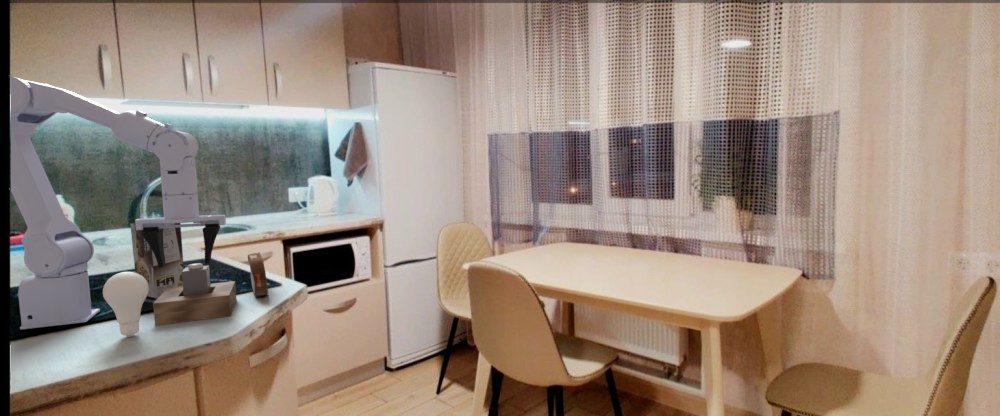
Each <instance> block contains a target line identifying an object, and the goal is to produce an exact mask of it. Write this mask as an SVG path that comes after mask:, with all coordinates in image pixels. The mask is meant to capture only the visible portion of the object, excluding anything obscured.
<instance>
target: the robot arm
mask: <svg viewBox="0 0 1000 416" xmlns="http://www.w3.org/2000/svg"><path fill="white" fill-rule="evenodd" d="M10 76H11V190H10V192H11V195H12V197H13V199H14V201H15V203H16V205H17V208H18V209H19V212H20V214H21V215H22V218H23V220H24V222H25V224H26V227H27V229H26V230H25V233H24V234H23V236H22V238H21V244H22V246H23V247H24V248H23V249H24V253H23V255H24V256H23V262H24V264H25V267H26V268H27V270H29V271H30V272H31V273H33V274H34V275H29V276H25V277H23V278H22V279H21V280H20V282H19V286H18V305H19V313H20V320H21V326H20V327H19V329H20V330H29V329H38V328H45V327H47V328H48V327H54V326H63V325H73V324H81V323H82V324H83V323H86V322H88V321H90V320H91V319H93V317H95V316H96V315H97V314H99V312H100V311H101V309H100V308H92V300H91V291H90V282H89V272H88V268H89V267H88V262H90V261H91V259H92V258H93V256H94V253H95V250H94V245H93V244H94V243H92V241H91V240H90V239H89V238H88V237H87V236H85V235H84V234H83V233H82V230H81V229H80V227H79V225H78V224H76V223H74V221H71V220H70V219H68V218H67V217H66V215H65V213H64V211H63V208H62V206H61V204H60V201H59V200H58V197H57V195H56V193H55V191H54V189H53V186H52V183H51V182H50V179H49V178H48V176H47V174H46V171H45V168H44V166H43V164H42V162H41V160H40V157H39V155H38V153H37V151H36V149H35V147H34V144H33V142H32V140H31V136H32V134H33V133H34V132H35V131H36V129H37V128H38V127H39V126H41V125H43V124H44V123H45V122H47V121H48V120H49V119H51V118H52V117H53V116H55V115H56V114H67V113H69V114H71V115H73V116H77V117H79V118H81V119H83V120H84V119H85V120H88V121H90V122H92V123H95V124H97V125H100V126H104V127H106V128H108V129H110V130H111V132H112V134H113V136H114V137H115V138H116V139H118V140H119V141H122V142H124V143H127V144H130V145H133V146H135V147H137V148H140V149H142V150H145V151H146V152H149V153H153V154H154V155H155V156H156V157H157V158H158V159H159V166H160V182H161V195H162V196H161V197H162V208H163V216H162V217H150V218H149V217H146V218H137V219H135V220H134V223H135V224H136V230H143V233H142V235H143V237H144V238H145V240H146V241H147V243H148V244H149V246H150V247H151V249H152V251H153V253H154V255H155V257H156V260H157V263H158V267H164V266H165V255H164V248H163V228H176V227H181V228H192V227H202V234H203V244H204V263H205V264H211V262H212V252H213V248H214V245H215V241H216V238H217V237H218V234H219V231H220V229H221V226H222V227H223V226H225V225H226V224H227V221H226V214H209V215H208V214H207V215H206V214H205V215H204V214H202V215H200V209H199V206H200V205H199V195H198V193H199V192H198V179H197V178H198V176H197V169H196V156H197V155H198V153H199V150H200V145H199V142H198V139H197V138H196V137H195V136H194V135H193V134H191V133H189V132H188V131H186V130H174V125H173V124H170V123H167V122H166V123H162V122H159V121H157V120H154V119H151V118H150V117H148V114H147V113H146V112H144V111H141V110H136V111H134V110H127V111H123V112H118V111H116V110H113V109H111V108H109V107H106V106H104V105H103V104H100V103H97V102H96V101H93V100H92V99H91V100H90V98H89V99H88V98H87V97H84V96H82V95H80V94H78V93H75V92H74V91H70V90H68V89H65V88H61V87H57V86H53V85H50V84H48V83H44V82H36V81H32V80H27V79H23V78H18V77H16V76H12V75H10ZM171 223H180V224H179V225H170V224H171Z"/></svg>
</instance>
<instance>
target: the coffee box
mask: <svg viewBox="0 0 1000 416" xmlns="http://www.w3.org/2000/svg"><path fill="white" fill-rule="evenodd" d="M179 224H181V223H171V224H170V225H179ZM181 228H182V227H176V228H163V248H164V255H165V266H164V267H158V263H157V260H156V257H155V255H154V253H153V251H152V249H151V247H150V246H149V244H148V243H147V241H146V240H145V238H144V237H143V235H142V233H143V230H136V224H135V222H133V223H132V222H130V232H131V233H130V234H131V244H132V253H133V255H132V256H133V263H134V273H137V274H140V275H141V276H143V277H144V278H145V279H146V281H147V283H148V287H149V290H148V294H147V296H146V297H149V298H153V299H158V298H159V297H160V296H161V294H162V293H163V292H164V291H165V290H166V289H167V288H172V287H182V286H183V282H182V271H183V270H184V269H185V267H184V266H185V265H184V254H183V241H182V240H183V239H182V229H181Z"/></svg>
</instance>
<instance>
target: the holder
mask: <svg viewBox="0 0 1000 416" xmlns="http://www.w3.org/2000/svg"><path fill="white" fill-rule="evenodd" d="M210 285H211V293H209V294H200V295H190V296H184V294H183V286H182V287H172V288H167V289H166V290H165V291H164V292H163V293H162V294H161V296H160V297H159V298H156V299H155V301H154V302H152V306H153V317H154V318H153V319H154V326H158V325H159V326H160V325H167V324H169V325H170V324H177V323H185V322H191V321H200V320H208V319H216V318H217V319H218V318H224V317H226V318H227V317H231V316H232V314H233V311H234V308H235V305H236V302H237V289H236V281H235V280H234V281H225V282H213V283H210Z"/></svg>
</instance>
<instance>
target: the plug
mask: <svg viewBox="0 0 1000 416" xmlns="http://www.w3.org/2000/svg"><path fill="white" fill-rule="evenodd" d="M182 282H183V294H184V296H190V295H200V294H209V293H211V285H210V284H211V273H210V265H203V263H200V262H198V263H196V262H195V263H191V264H188V265H187V267H184V270H183V271H182Z"/></svg>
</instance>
